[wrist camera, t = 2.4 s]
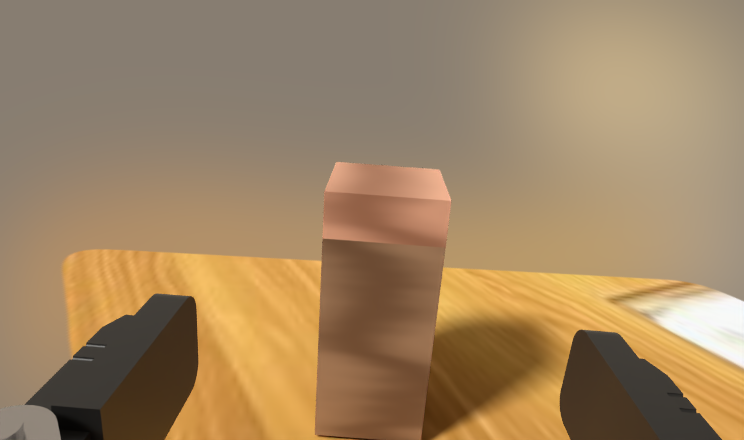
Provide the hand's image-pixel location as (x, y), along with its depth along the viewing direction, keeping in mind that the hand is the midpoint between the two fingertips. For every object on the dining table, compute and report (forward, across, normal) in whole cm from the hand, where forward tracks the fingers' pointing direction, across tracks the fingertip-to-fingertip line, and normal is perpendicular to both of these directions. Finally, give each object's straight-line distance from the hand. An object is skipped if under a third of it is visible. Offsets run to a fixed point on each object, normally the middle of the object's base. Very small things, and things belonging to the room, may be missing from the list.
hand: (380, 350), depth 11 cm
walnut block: (+13, 0, +12) cm, 17 cm away
